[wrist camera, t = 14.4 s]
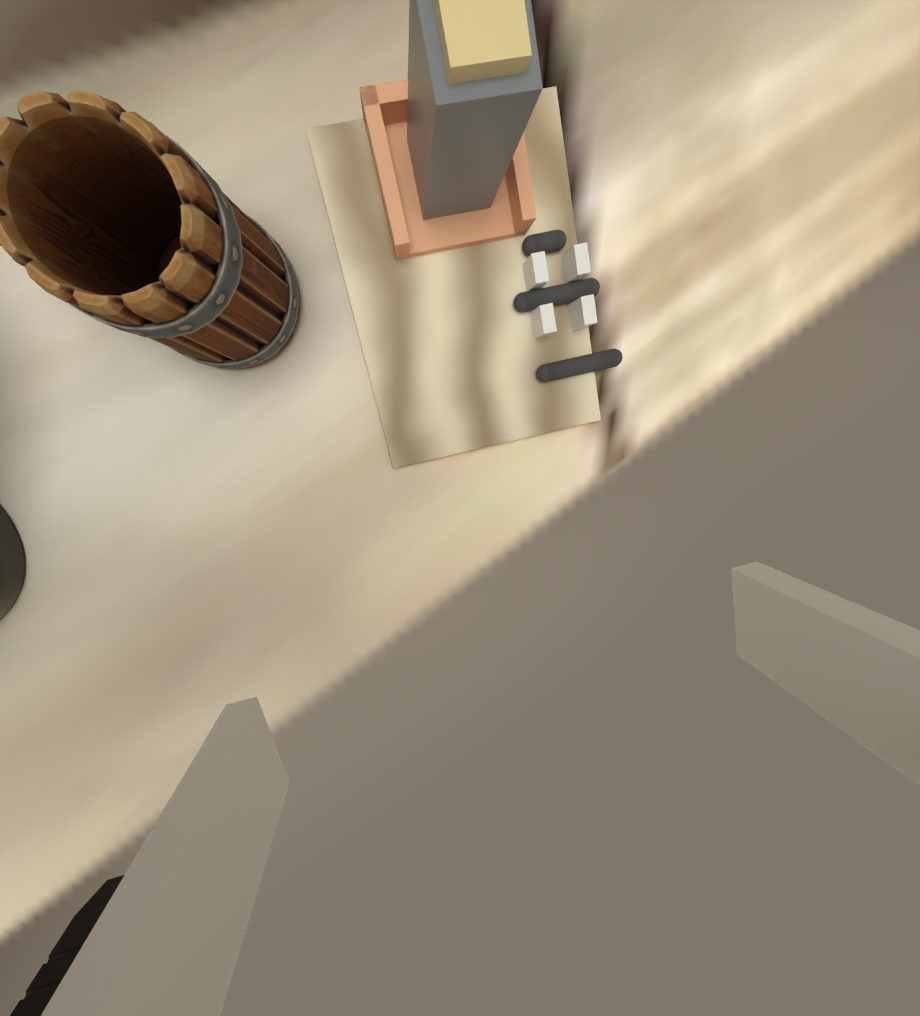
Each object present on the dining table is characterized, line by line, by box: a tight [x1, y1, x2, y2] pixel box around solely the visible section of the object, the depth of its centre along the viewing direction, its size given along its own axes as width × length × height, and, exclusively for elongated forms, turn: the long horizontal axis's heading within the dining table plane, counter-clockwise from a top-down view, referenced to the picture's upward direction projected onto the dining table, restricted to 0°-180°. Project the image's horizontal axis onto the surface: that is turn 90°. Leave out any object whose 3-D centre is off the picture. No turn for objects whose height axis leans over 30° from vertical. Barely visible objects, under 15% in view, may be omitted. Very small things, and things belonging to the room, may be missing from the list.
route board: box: [306, 87, 601, 469], centre depth 34 cm, size 18×24×1 cm
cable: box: [514, 230, 622, 382], centre depth 34 cm, size 8×11×1 cm
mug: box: [0, 90, 300, 369], centre depth 25 cm, size 16×11×15 cm
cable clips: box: [522, 243, 597, 339], centre depth 33 cm, size 4×6×2 cm
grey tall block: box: [407, 0, 543, 220], centre depth 24 cm, size 5×5×13 cm
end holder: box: [360, 80, 537, 260], centre depth 30 cm, size 10×9×3 cm
